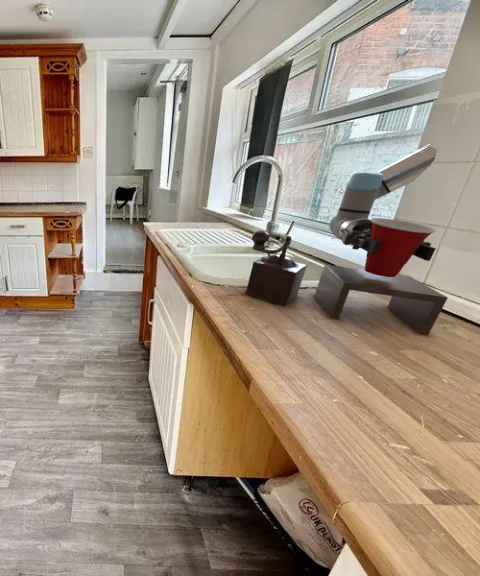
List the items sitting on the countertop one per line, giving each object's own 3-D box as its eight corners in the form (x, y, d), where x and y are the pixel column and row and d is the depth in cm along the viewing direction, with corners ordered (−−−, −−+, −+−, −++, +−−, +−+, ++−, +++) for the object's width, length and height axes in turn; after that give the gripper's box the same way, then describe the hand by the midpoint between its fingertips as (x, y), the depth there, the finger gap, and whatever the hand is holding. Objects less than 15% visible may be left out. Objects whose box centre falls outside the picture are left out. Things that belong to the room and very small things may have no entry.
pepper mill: (255, 285, 90) (271, 224, 84) (297, 297, 83) (319, 231, 76) (233, 298, 80) (249, 230, 74) (279, 313, 73) (301, 239, 66)
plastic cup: (388, 282, 66) (413, 227, 61) (340, 266, 75) (359, 217, 71) (424, 281, 68) (451, 227, 64) (374, 265, 78) (393, 218, 73)
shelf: (394, 308, 79) (409, 275, 76) (428, 335, 66) (448, 297, 63) (314, 295, 85) (324, 264, 82) (330, 318, 72) (344, 282, 69)
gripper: (402, 251, 83) (459, 276, 63) (312, 240, 90) (337, 260, 70) (415, 223, 80) (478, 240, 61) (320, 215, 87) (349, 227, 67)
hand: (402, 251), depth 65 cm, fingers closed on plastic cup, 9 cm apart
